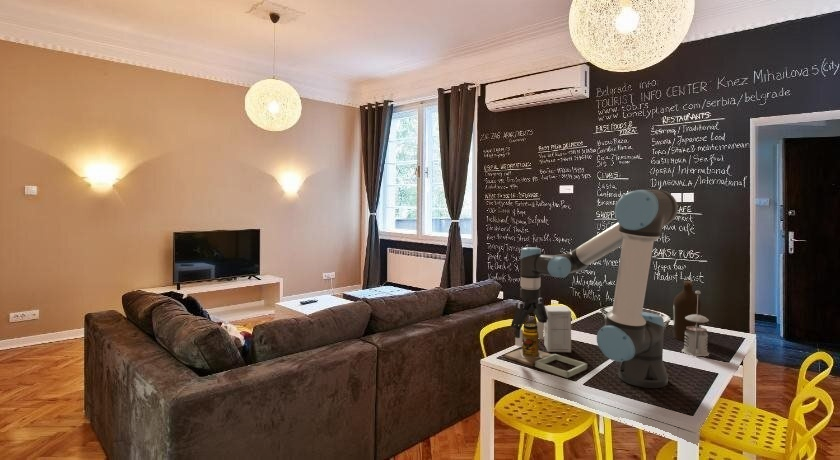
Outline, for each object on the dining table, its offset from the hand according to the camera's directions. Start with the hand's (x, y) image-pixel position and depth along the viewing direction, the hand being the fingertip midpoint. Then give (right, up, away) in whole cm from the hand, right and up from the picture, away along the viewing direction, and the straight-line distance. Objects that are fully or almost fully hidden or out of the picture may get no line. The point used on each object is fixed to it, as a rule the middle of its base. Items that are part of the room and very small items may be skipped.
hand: (529, 342), depth 178 cm
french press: (+66, -5, +3) cm, 67 cm away
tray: (+9, -7, -10) cm, 15 cm away
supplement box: (+14, -5, +11) cm, 18 cm away
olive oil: (+73, -4, +22) cm, 76 cm away
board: (0, -6, +1) cm, 6 cm away
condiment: (0, -5, +1) cm, 5 cm away
